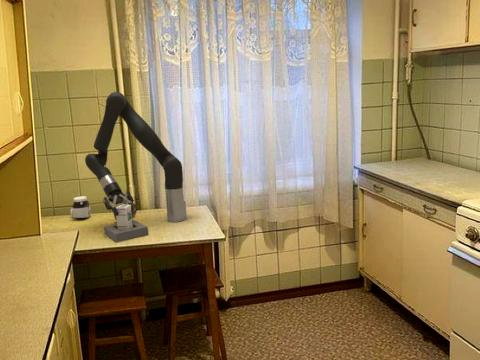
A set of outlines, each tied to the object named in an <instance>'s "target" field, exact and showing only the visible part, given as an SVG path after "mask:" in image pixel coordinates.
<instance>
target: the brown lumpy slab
mask: <svg viewBox="0 0 480 360" xmlns="http://www.w3.org/2000/svg"><path fill="white" fill-rule="evenodd" d="M132 205H133V207H134V211H133V212H132V219H133V218H135V216H136V215H137V210H138V209H137V206H136V204H135V203H134V202H133V204H132ZM113 218H114V220H115V221H116V222H117V219H116V215H114V214H113Z"/></svg>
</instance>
